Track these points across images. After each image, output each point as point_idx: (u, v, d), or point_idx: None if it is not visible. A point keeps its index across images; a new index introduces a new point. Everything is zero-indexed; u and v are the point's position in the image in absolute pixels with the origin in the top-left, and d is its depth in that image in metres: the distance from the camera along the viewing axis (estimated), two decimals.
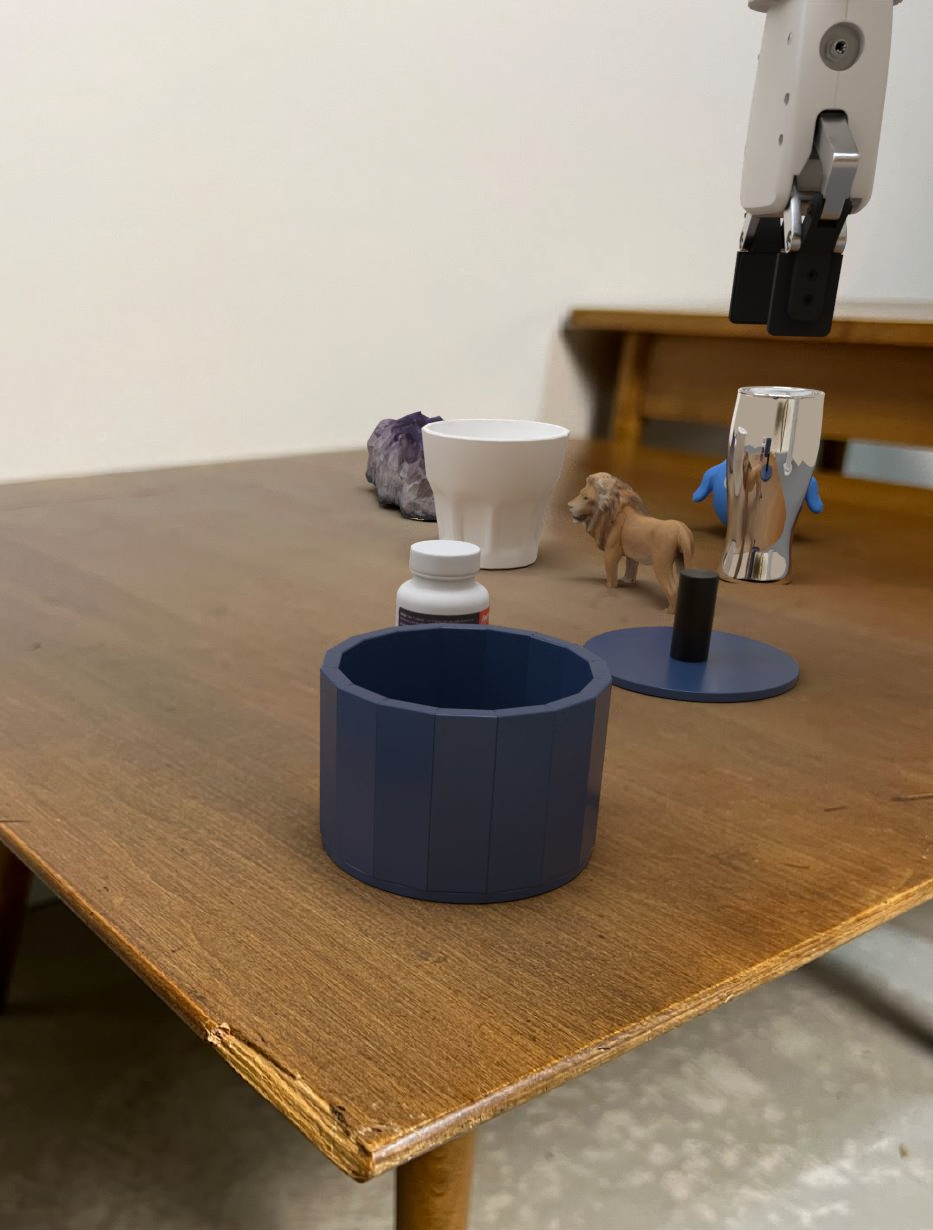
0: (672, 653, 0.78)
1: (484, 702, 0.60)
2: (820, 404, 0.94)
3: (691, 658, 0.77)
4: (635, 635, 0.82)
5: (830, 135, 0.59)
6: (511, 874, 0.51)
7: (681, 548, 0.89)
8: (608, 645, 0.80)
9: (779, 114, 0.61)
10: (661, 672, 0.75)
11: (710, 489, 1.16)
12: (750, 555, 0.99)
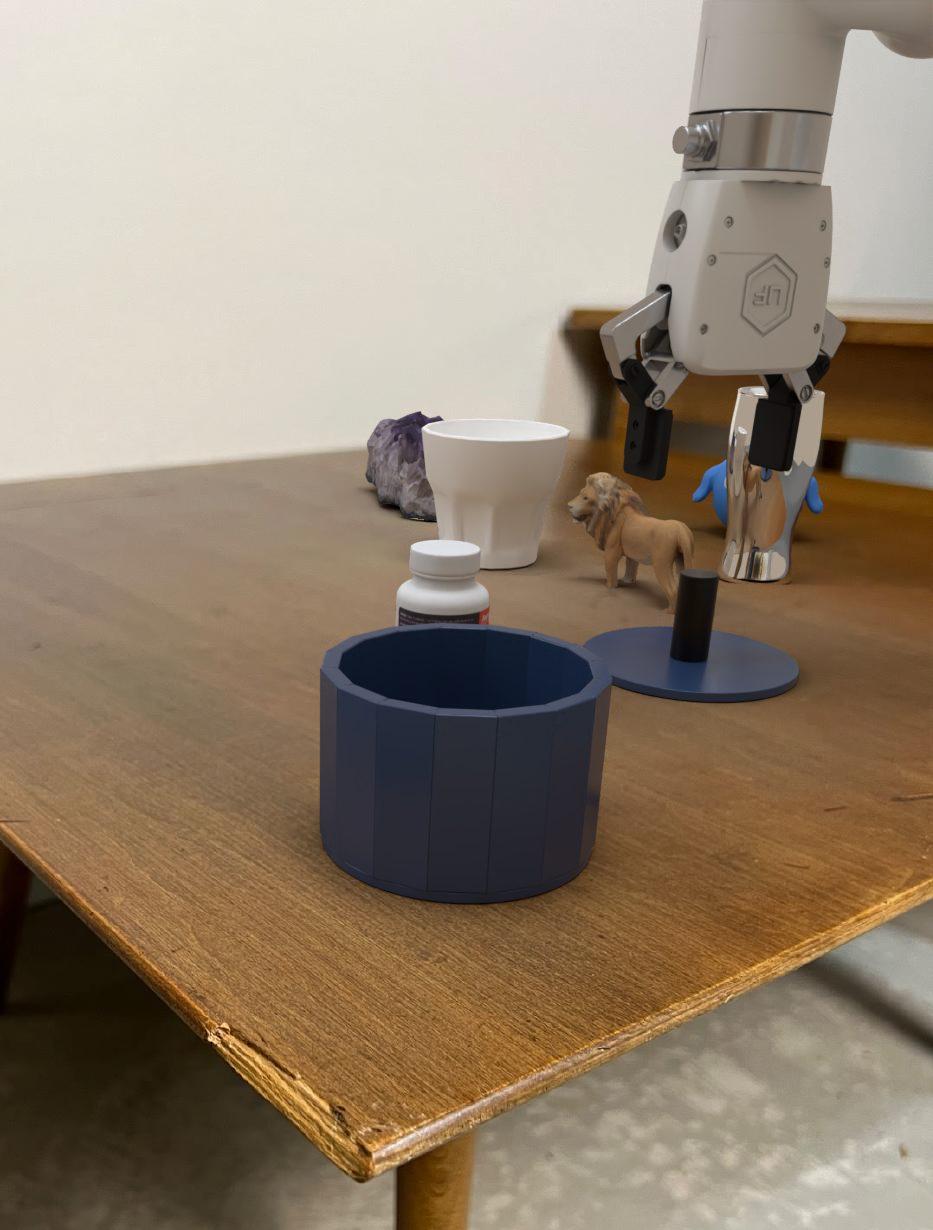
0: (672, 653, 0.78)
1: (484, 702, 0.60)
2: (820, 404, 0.94)
3: (691, 658, 0.77)
4: (635, 635, 0.82)
5: (629, 308, 0.67)
6: (511, 874, 0.51)
7: (681, 548, 0.89)
8: (608, 645, 0.80)
9: None
10: (661, 672, 0.75)
11: (710, 489, 1.16)
12: (750, 555, 0.99)
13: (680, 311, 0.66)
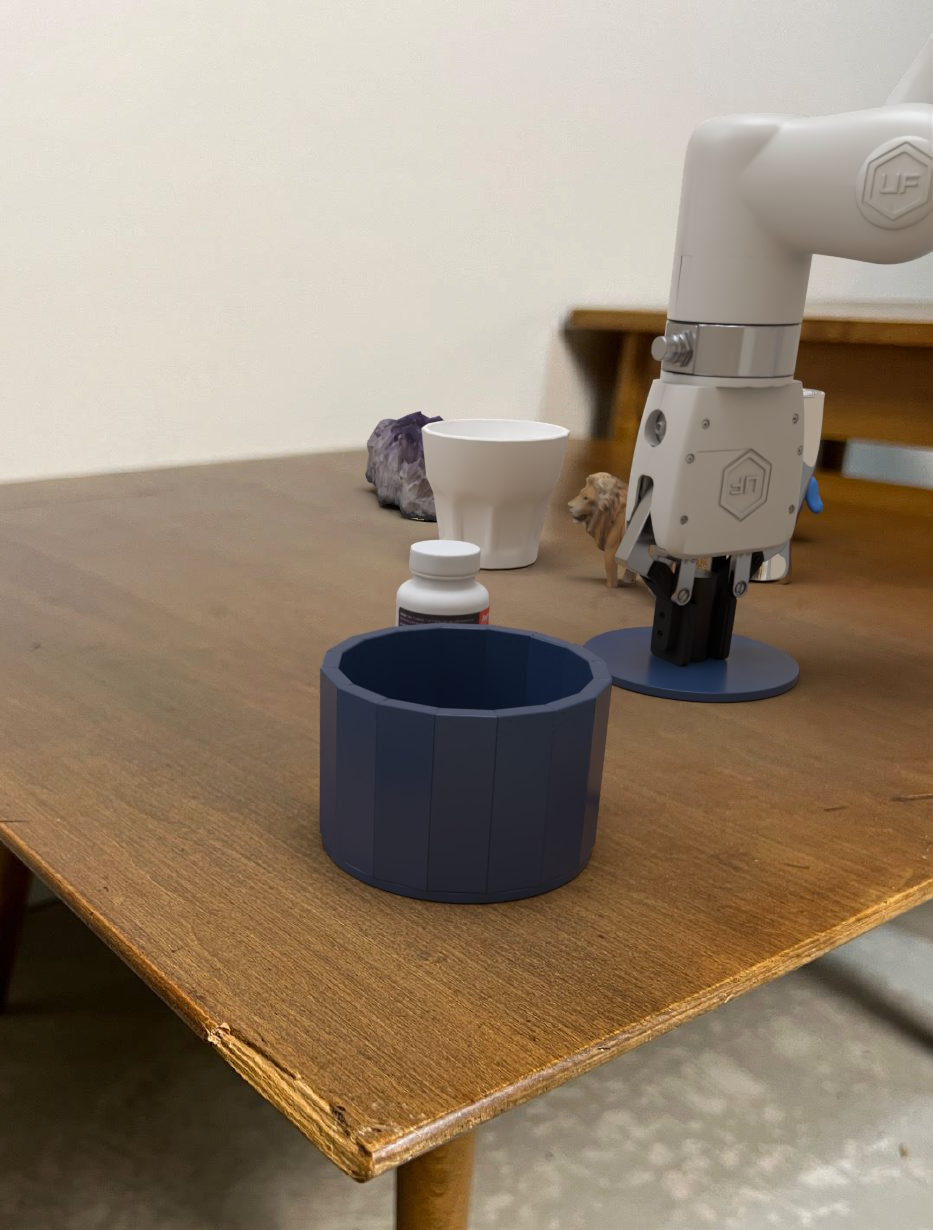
0: None
1: (484, 702, 0.60)
2: (820, 404, 0.94)
3: (691, 658, 0.77)
4: (635, 635, 0.82)
5: (629, 527, 0.73)
6: (511, 874, 0.51)
7: None
8: (608, 645, 0.80)
9: None
10: (661, 672, 0.75)
11: None
12: None
13: (661, 503, 0.71)
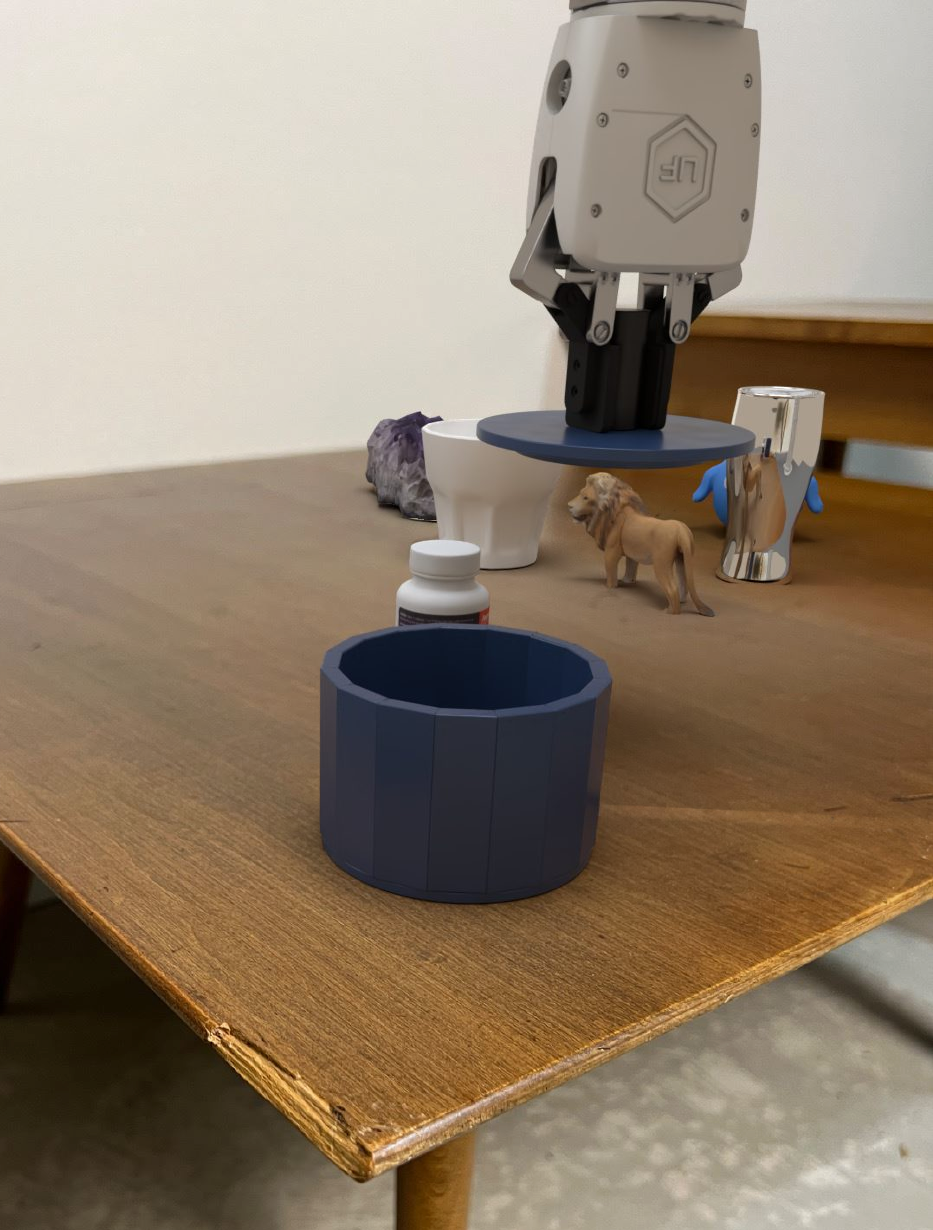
0: None
1: (484, 702, 0.60)
2: (820, 404, 0.94)
3: (615, 425, 0.59)
4: (551, 414, 0.65)
5: (528, 233, 0.55)
6: (511, 874, 0.51)
7: (681, 547, 0.89)
8: (513, 419, 0.63)
9: None
10: (573, 436, 0.58)
11: (710, 489, 1.16)
12: (750, 555, 0.99)
13: (566, 188, 0.53)
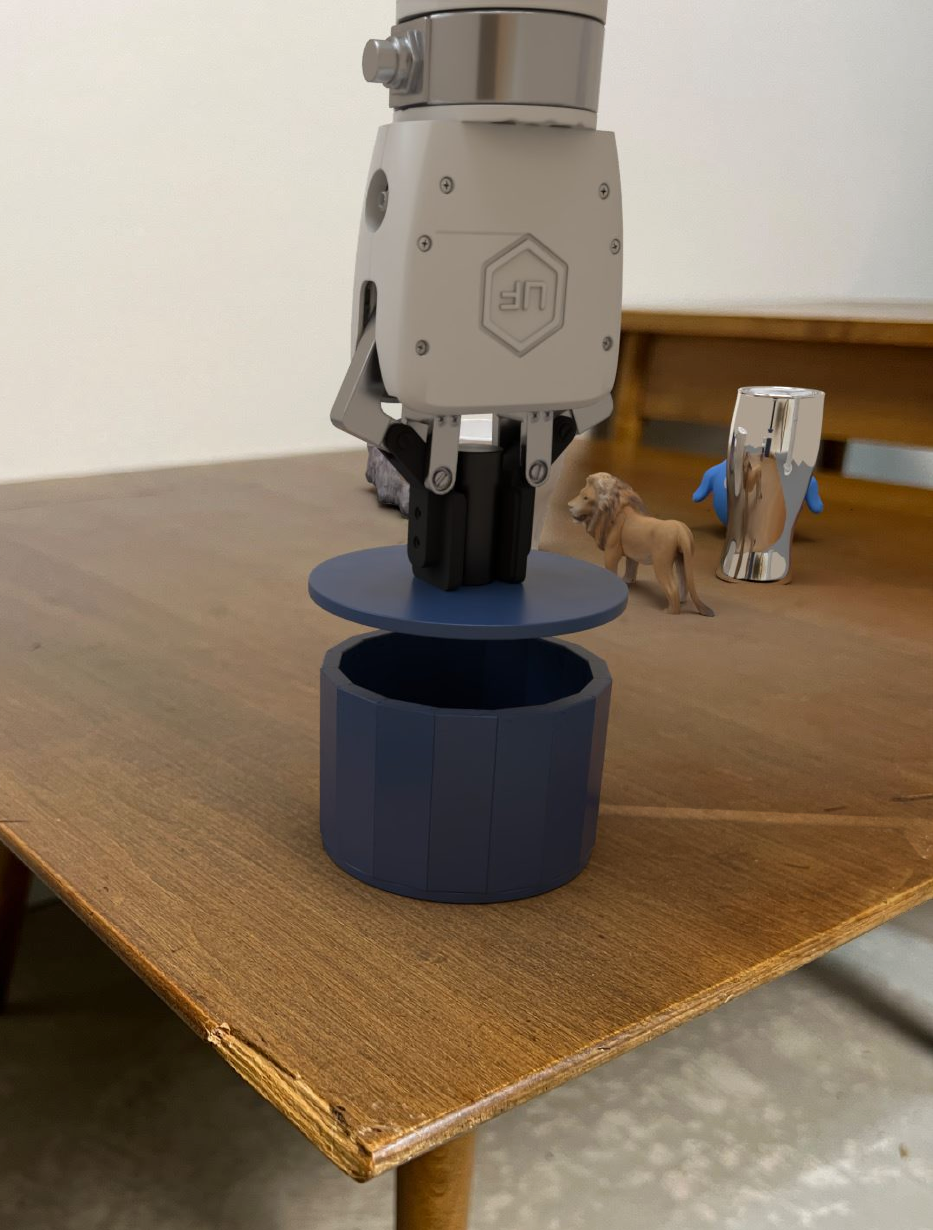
0: None
1: (484, 702, 0.60)
2: (820, 404, 0.94)
3: (466, 579, 0.51)
4: (405, 553, 0.56)
5: (350, 368, 0.47)
6: (511, 874, 0.51)
7: (681, 548, 0.89)
8: (356, 564, 0.54)
9: None
10: (412, 598, 0.49)
11: (710, 489, 1.16)
12: (750, 555, 0.99)
13: (387, 321, 0.44)
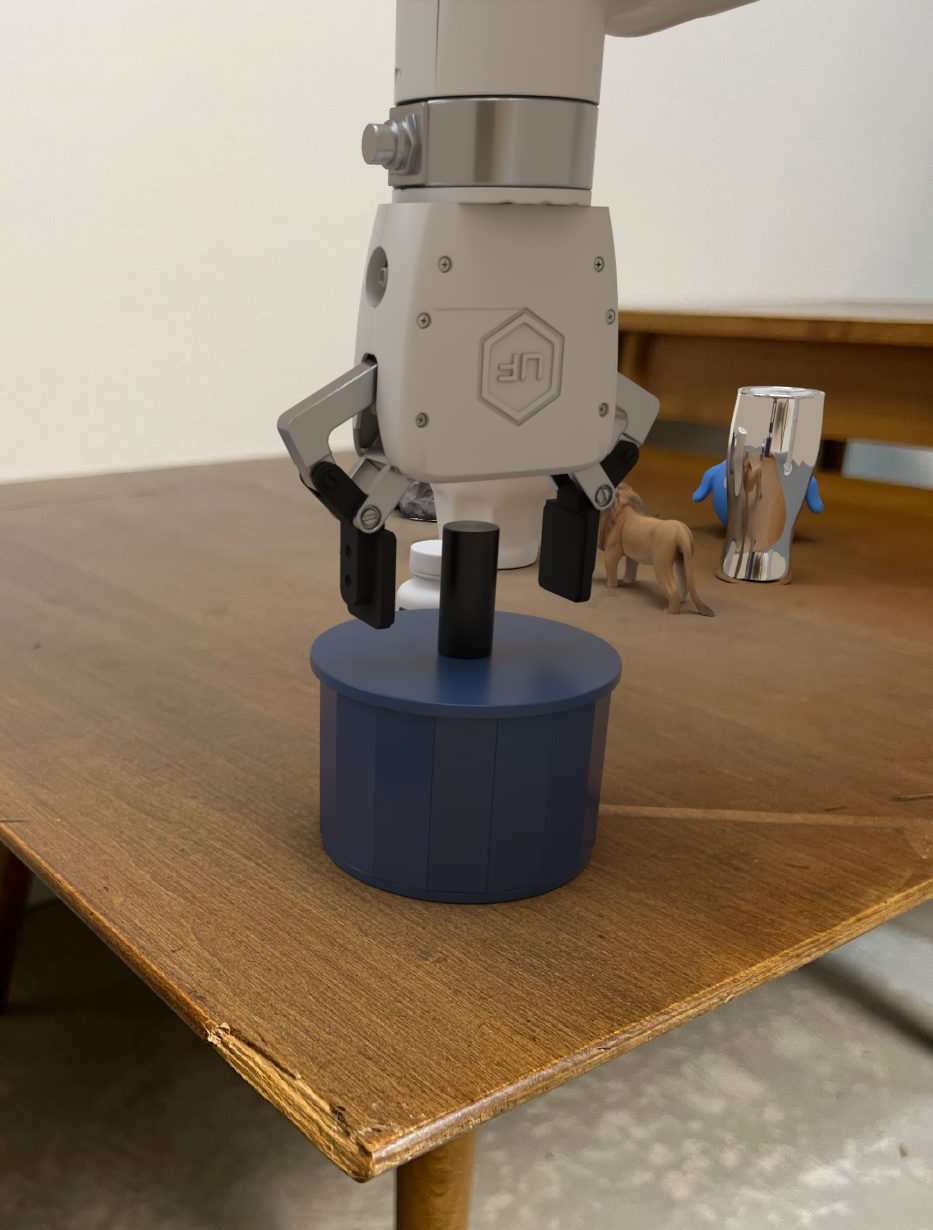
0: (439, 645, 0.53)
1: None
2: (820, 404, 0.94)
3: (463, 653, 0.52)
4: (404, 621, 0.57)
5: (321, 389, 0.46)
6: (511, 874, 0.51)
7: (681, 548, 0.89)
8: (356, 634, 0.55)
9: None
10: (411, 674, 0.50)
11: (710, 489, 1.16)
12: (750, 555, 0.99)
13: (388, 394, 0.45)
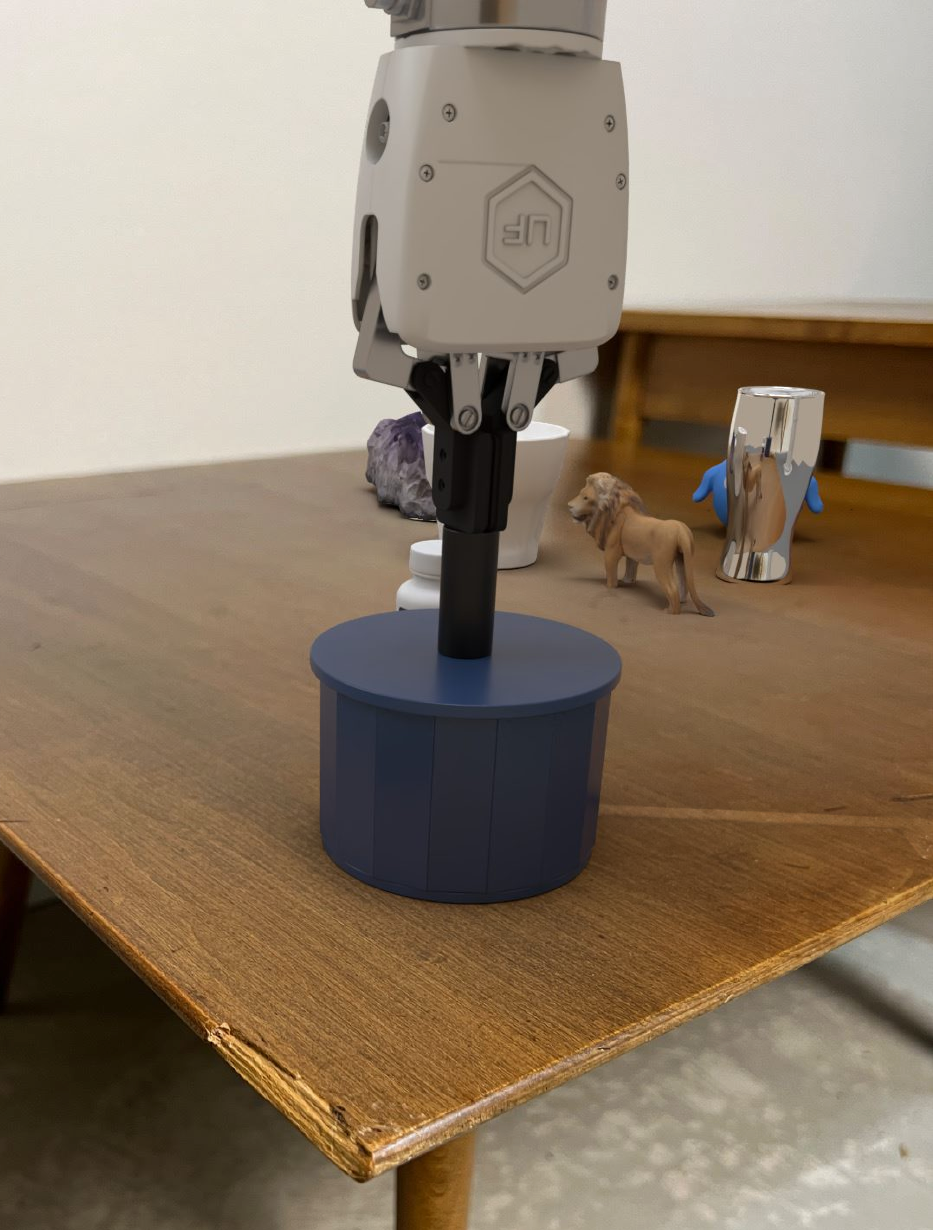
0: (439, 645, 0.53)
1: None
2: (820, 404, 0.94)
3: (463, 653, 0.52)
4: (404, 621, 0.57)
5: (364, 315, 0.46)
6: (511, 874, 0.51)
7: (681, 548, 0.89)
8: (356, 634, 0.55)
9: None
10: (411, 674, 0.50)
11: (710, 489, 1.16)
12: (750, 555, 0.99)
13: (389, 254, 0.43)
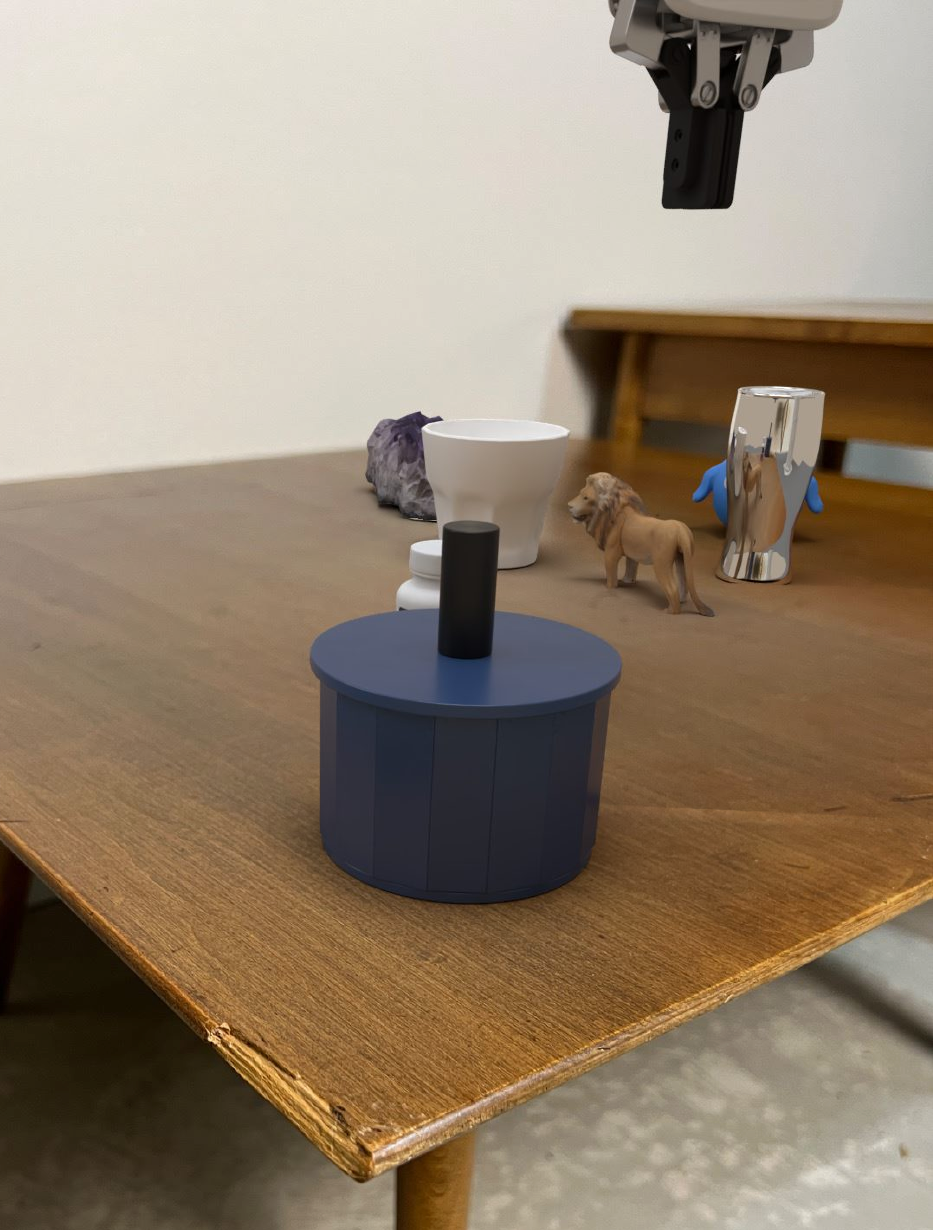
0: (439, 645, 0.53)
1: None
2: (820, 404, 0.94)
3: (463, 653, 0.52)
4: (404, 621, 0.57)
5: None
6: (511, 874, 0.51)
7: (681, 548, 0.89)
8: (356, 634, 0.55)
9: None
10: (411, 674, 0.50)
11: (710, 489, 1.16)
12: (750, 555, 0.99)
13: None
